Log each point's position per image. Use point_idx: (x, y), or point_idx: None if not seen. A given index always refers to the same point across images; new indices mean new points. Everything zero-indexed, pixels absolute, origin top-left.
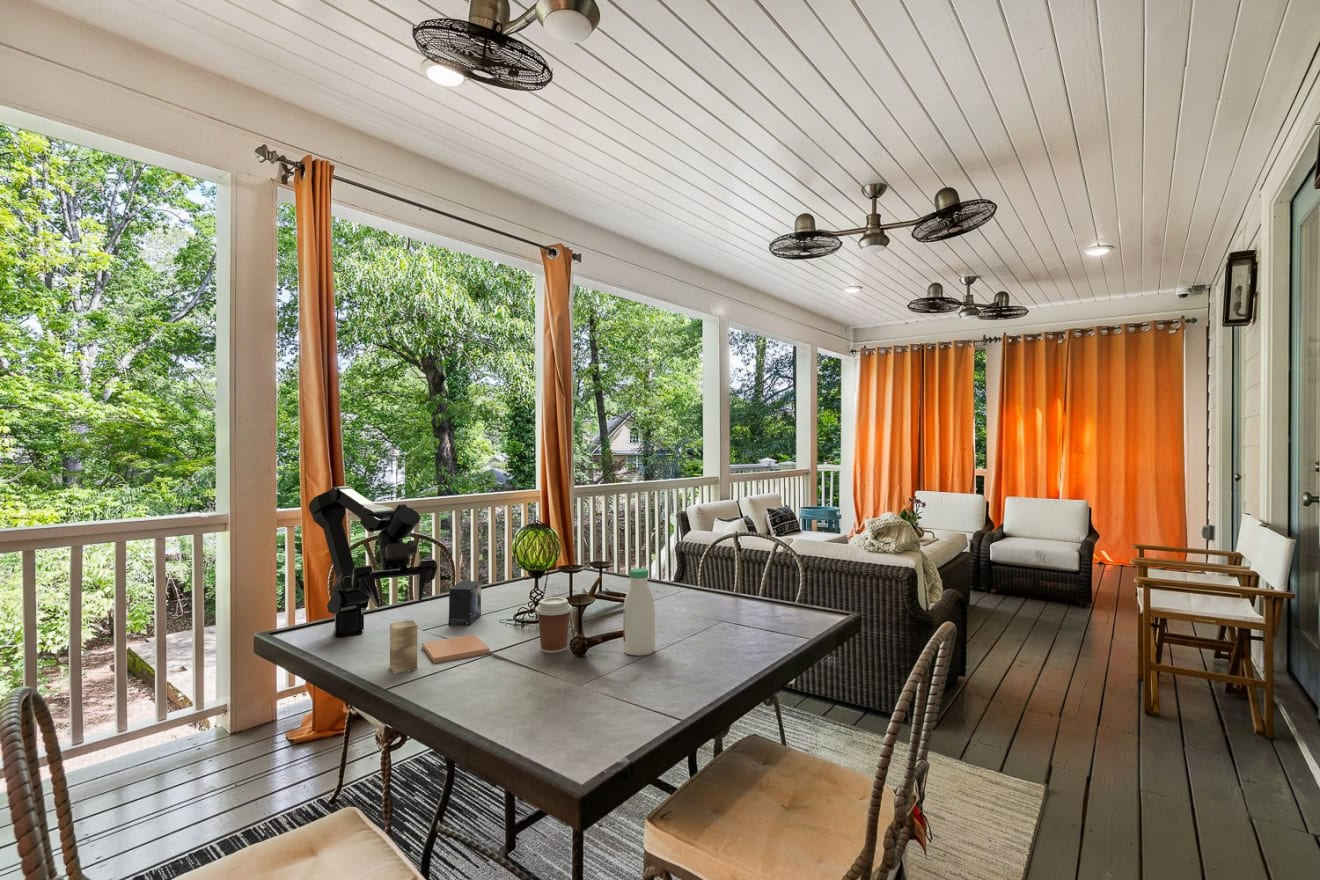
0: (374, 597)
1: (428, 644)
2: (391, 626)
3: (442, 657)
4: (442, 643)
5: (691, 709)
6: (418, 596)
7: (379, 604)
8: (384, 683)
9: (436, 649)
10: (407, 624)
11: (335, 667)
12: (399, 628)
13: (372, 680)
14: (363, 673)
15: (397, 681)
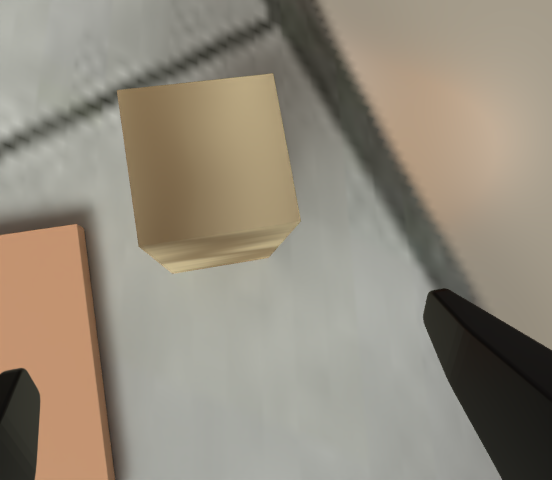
0: (521, 332)
1: (81, 464)
2: (287, 157)
3: (35, 231)
4: None
5: None
6: (22, 445)
7: (430, 291)
8: (282, 78)
9: (49, 357)
10: (182, 139)
11: None
12: (236, 80)
13: (326, 128)
14: (365, 222)
15: None
